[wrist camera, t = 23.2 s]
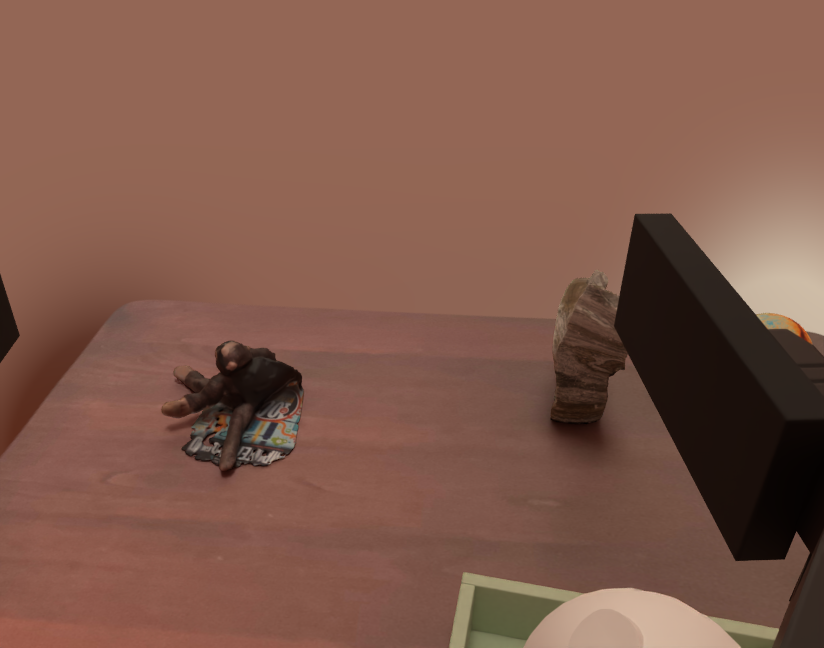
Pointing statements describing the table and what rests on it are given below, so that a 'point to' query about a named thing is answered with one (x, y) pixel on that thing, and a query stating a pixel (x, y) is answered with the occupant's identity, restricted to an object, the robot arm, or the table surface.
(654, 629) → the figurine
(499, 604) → the tote
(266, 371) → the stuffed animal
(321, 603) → the table surface
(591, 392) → the rock
